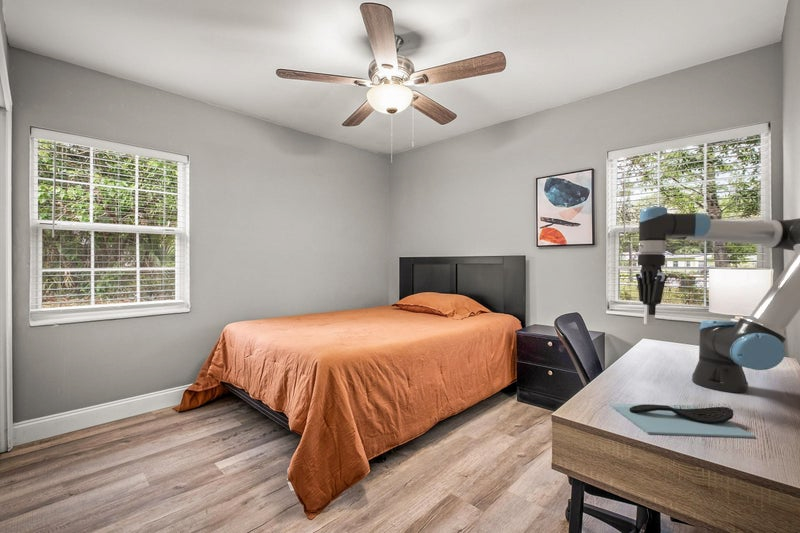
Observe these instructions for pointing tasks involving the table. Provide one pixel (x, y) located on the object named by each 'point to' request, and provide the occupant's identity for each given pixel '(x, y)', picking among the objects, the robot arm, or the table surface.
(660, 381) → the table surface
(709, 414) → the hairbrush
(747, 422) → the table surface
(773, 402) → the table surface
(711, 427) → the plate
